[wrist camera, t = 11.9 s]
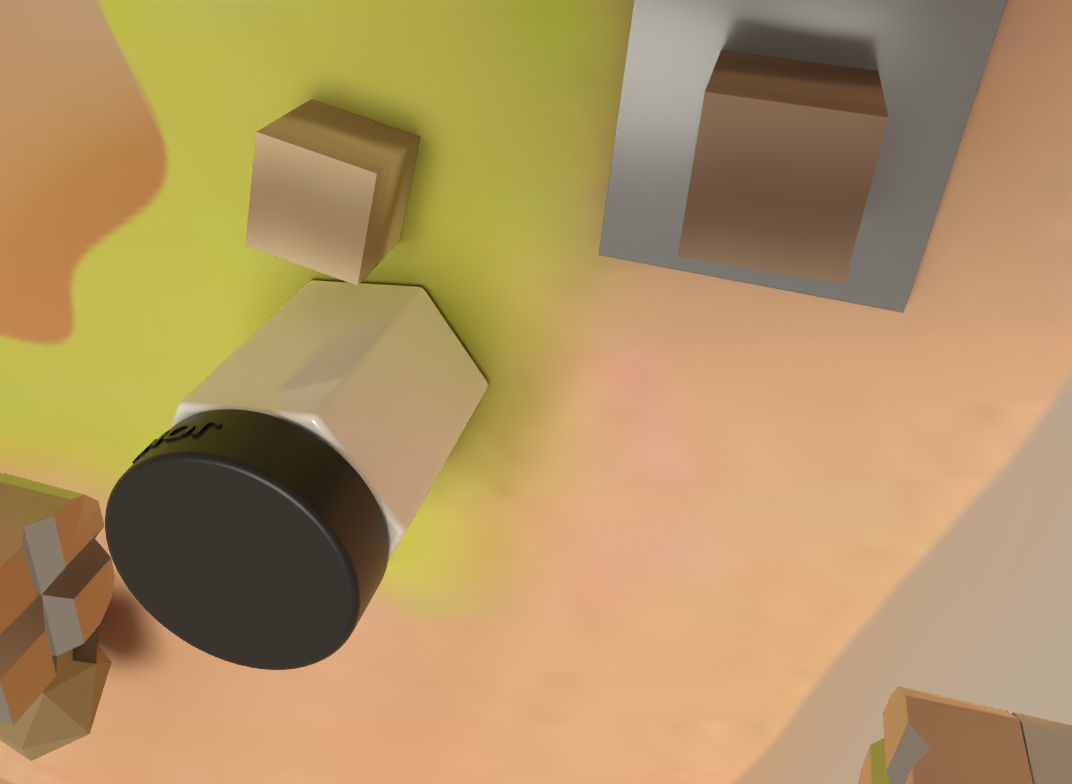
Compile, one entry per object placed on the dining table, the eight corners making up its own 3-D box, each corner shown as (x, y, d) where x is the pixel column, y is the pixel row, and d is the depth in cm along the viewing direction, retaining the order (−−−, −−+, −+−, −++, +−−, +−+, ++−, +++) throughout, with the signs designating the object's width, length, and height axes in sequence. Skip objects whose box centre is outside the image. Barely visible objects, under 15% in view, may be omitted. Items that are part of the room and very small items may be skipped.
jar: (325, 227, 36) (136, 391, 26) (518, 340, 37) (405, 543, 27) (254, 400, 41) (73, 593, 31) (426, 497, 42) (300, 719, 32)
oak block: (311, 98, 34) (256, 131, 31) (420, 135, 34) (376, 173, 30) (298, 204, 36) (245, 245, 33) (400, 240, 36) (357, 285, 32)
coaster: (648, -73, 29) (644, -70, 28) (1008, -24, 27) (1013, -20, 26) (602, 245, 34) (598, 254, 33) (901, 302, 32) (903, 312, 32)
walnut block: (720, 49, 29) (704, 91, 25) (878, 70, 28) (888, 117, 24) (696, 195, 31) (677, 256, 27) (841, 218, 31) (844, 284, 26)
